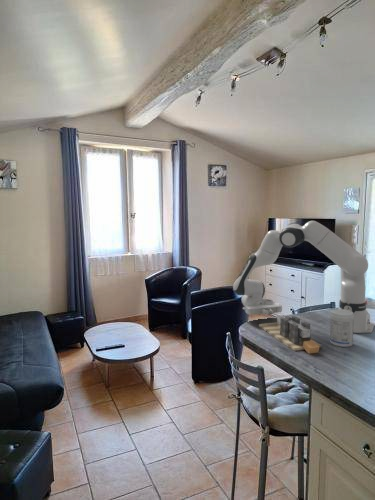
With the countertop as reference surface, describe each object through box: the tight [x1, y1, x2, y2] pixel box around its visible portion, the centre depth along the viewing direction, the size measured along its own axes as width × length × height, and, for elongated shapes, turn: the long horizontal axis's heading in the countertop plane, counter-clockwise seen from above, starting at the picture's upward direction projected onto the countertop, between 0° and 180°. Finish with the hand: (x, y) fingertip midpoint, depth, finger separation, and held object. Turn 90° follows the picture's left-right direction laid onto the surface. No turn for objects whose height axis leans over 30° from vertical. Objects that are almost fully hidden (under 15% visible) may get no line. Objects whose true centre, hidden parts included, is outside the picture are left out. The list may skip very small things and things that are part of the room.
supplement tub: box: [329, 308, 354, 348], centre depth 146 cm, size 10×10×15 cm
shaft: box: [276, 315, 311, 338], centre depth 152 cm, size 22×6×6 cm, turn 14°
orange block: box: [303, 339, 320, 355], centre depth 139 cm, size 3×5×5 cm
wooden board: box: [258, 315, 321, 351], centre depth 157 cm, size 33×13×10 cm, turn 14°
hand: (270, 313), depth 172 cm, fingers closed
